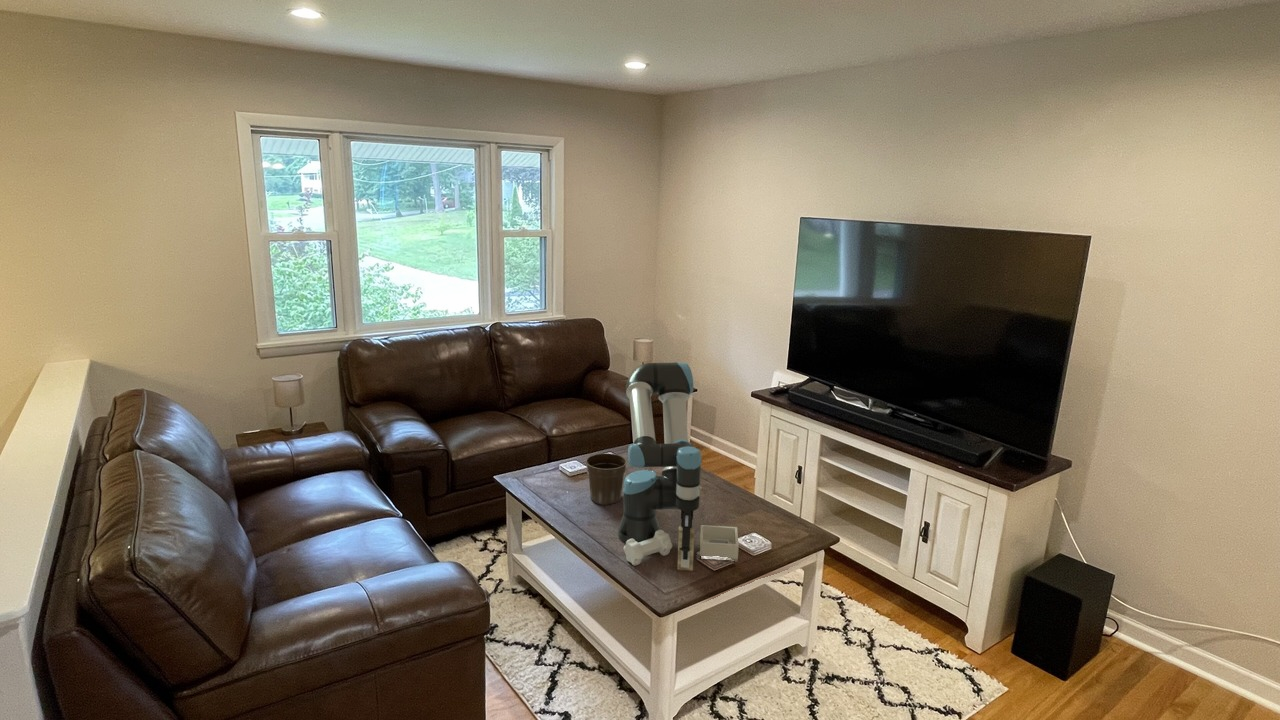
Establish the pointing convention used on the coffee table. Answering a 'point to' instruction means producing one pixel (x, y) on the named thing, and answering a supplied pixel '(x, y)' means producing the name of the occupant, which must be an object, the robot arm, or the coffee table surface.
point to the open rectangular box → (719, 541)
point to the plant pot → (606, 477)
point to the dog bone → (647, 547)
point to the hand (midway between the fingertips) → (685, 558)
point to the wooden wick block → (690, 549)
